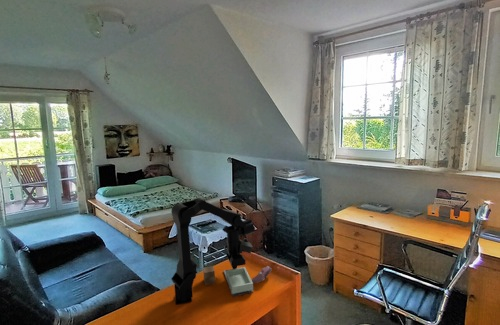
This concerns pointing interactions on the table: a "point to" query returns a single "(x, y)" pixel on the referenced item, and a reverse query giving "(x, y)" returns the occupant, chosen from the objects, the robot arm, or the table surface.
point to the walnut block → (209, 275)
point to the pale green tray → (239, 280)
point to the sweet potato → (262, 275)
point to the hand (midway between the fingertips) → (234, 270)
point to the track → (240, 292)
